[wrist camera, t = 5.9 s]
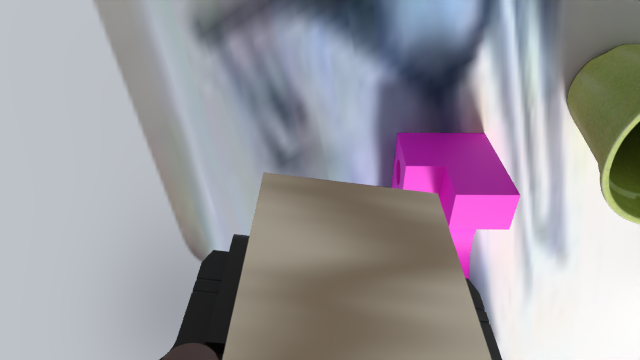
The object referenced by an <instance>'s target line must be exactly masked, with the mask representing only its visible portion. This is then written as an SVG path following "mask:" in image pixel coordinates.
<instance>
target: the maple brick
mask: <svg viewBox="0 0 640 360" xmlns="http://www.w3.org/2000/svg"><path fill="white" fill-rule="evenodd" d="M222 360H492V359H491V356H490V353H489V350H488V347H487V344H486V341H485V338H484V335H483V331H482V328H481V325H480V322H479V319H478V316H477V313H476V310H475V307H474V304H473V301H472V298H471V295H470V291H469V288H468V285H467V282H466V279H465V276H464V273H463V270H462V267H461V264H460V261H459V258H458V254H457V251H456V248H455V245H454V242H453V239H452V236H451V233H450V230H449V227H448V224H447V221H446V217H445V214H444V211H443V208H442V205H441V202H440V199H439V196H438V193H430V192H422V191H413V190H405V189H397V188H388V187H380V186H372V185H363V184H355V183H347V182H338V181H330V180H322V179H313V178H305V177H297V176H288V175H280V174H272V173H264V174H263V178H262V183H261V187H260V192H259V196H258V201H257V205H256V210H255V214H254V219H253V223H252V228H251V233H250V237H249V242H248V246H247V251H246V255H245V260H244V264H243V269H242V273H241V278H240V282H239V287H238V291H237V296H236V300H235V305H234V309H233V314H232V318H231V323H230V327H229V332H228V336H227V341H226V345H225V350H224V354H223V359H222Z"/></svg>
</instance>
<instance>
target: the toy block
mask: <svg viewBox="0 0 640 360" xmlns="http://www.w3.org/2000/svg"><path fill="white" fill-rule="evenodd" d="M391 188H397V189H405V190H413V191H422V192H430V193H438V196H439V199H440V202H441V205H442V208H443V211H444V214H445V217H446V221H447V224H448V227H449V230H450V233H451V236H452V239H453V242H454V245H455V248H456V251H457V254H458V258H459V261H460V264H461V267H462V270H463V273H464V276H465V278H468V279H469V259H470V251H471V245H472V241H473V237H474V234H475V231H476V229H509V228H510V225H511V222H512V219H513V216H514V213H515V210H516V207H517V204H518V201H519V198H520V194H519V192H518V190H517V189H516V187H515V185H514V183H513V182H512V180H511V178H510V176H509V175H508V173H507V171H506V169H505V168H504V166H503V164H502V163H501V161H500V159H499V157H498V156H497V154H496V152H495V150H494V149H493V147H492V145H491V143H490V142H489V140H488V138H487V137H486V135H485V133H397V142H396V150H395V159H394V168H393V177H392V186H391Z"/></svg>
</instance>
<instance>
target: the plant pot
mask: <svg viewBox="0 0 640 360" xmlns="http://www.w3.org/2000/svg"><path fill="white" fill-rule="evenodd" d="M567 103H568V108H569V112H570V114H571V117H572V119H573V120H574V122H575V124H576V126H577V127H578V129H579V131H580V132H581V134H582V136H583V137H584V139H585V141H586V143H587V144H588V146H589V148H590V150H591V152H592V153H593V155H594V157H595V159H596V160H597V162H598V167H599V172H600V186H601V191H602V194H603V196H604V199H605V200H606V202H607V203H608V205H609V206H610V207H611V209H612V210H613V211H614V212H615V213H617V214H618V215H619V216H621V217H623V218H625V219H627V220H629V221H631V222H634V223H637V224H640V44H626V45H621V46H618V47H615V48H614V49H612V50H611V51H609V52H607V53H605V54H603V55H601V56H599V57H597V58H594V59H592V60H591V61H589V62H588V63H587V64H586V65H585V66H584V67H583V68H582V69H581V70H580V71H579V73H578V74H577V75H576V77H575V78H574V80H573V82H572V84H571V86H570V89H569V93H568V98H567Z"/></svg>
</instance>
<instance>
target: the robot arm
mask: <svg viewBox="0 0 640 360" xmlns="http://www.w3.org/2000/svg"><path fill="white" fill-rule="evenodd" d="M249 237H250V236H246V235H237V234H234V236H233V239H232V242H231V246H230V250H229V252H226V251H217V250H213V251H212V252H211V253H210V254H209V255H208V256H207V258H206V259H205V260H204V261H203V262H202V263H201V266H200V270H199V273H198V276H197V280H196V282H195V285H194V288H193V293H192V294H191V297H190V300H189V303H188V306H187V309H186V312H185V315H184V318H183V322H182V325H181V328H180V331H179V334H178V337H177V340H176V342H175V344H174V346H173V347H172V348H171V350H170V351H169V352H168V353H167V354H166V355H165V356H164V357H162V358H161V359H160V360H222V359H223V354H224V350H225V345H226V341H227V336H228V332H229V327H230V323H231V318H232V314H233V309H234V305H235V300H236V296H237V291H238V287H239V282H240V278H241V273H242V269H243V264H244V260H245V255H246V251H247V246H248V242H249ZM465 279H466V282H467V285H468V288H469V291H470V295H471V298H472V301H473V304H474V307H475V310H476V313H477V316H478V319H479V322H480V325H481V328H482V331H483V335H484V338H485V341H486V344H487V347H488V350H489V353H490V356H491V359H492V360H502V358H501V355H500V352H499V349H498V346H497V343H496V340H495V337H494V334H493V332H492V329H491V326H490V325H489V320H488V317H487V314H486V312H485V311H484V309H485V308H484V305H483V302H482V300H481V297H480V294H479V292H478V291H477V289H476V288H475V287H474V286H473V284H472V283H471V282H470V281H469V279H468V278H465Z"/></svg>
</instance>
